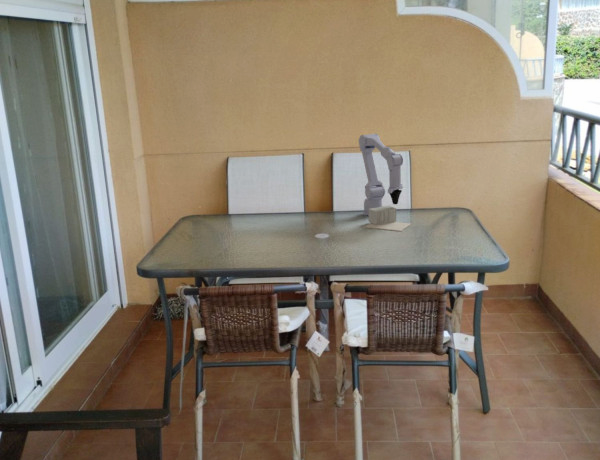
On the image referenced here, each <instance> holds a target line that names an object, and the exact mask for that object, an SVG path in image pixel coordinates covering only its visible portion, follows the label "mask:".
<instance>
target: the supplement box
mask: <svg viewBox="0 0 600 460" xmlns="http://www.w3.org/2000/svg"><path fill="white" fill-rule="evenodd" d="M391 222H397V208H396V207H394V206H391V205H385V206H382V207H377V208H371V209H369V215H368V223H369V224H370V223H372V224H375V225H379V224H385V223H391Z"/></svg>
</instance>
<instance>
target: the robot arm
mask: <svg viewBox="0 0 600 460" xmlns="http://www.w3.org/2000/svg"><path fill="white" fill-rule="evenodd" d="M358 146H359V150H360V151H361V154H362V159H363V163H364V167H365V169H364V170H365V173H366V178H367V183H366V185H364V194H365V195H364V196H365V197H366V198H365V199H364V200H363V201H364V202H363V216H369V209H371V208H377V207H383V198H384V197H385V195H386V189H385V186H384V185H383V182H381V181H380V180H378V176H377V170H376V166H375V161H374V157H373V151H374V150H375V149H377V150H378V151H379V152H380V156H381V157H383V159H385V161H386V164H387V167H388V170H389V175H388V176H389V178H388V179H389V181H388V182H389V185H388V189H387V193H388V194H389V195H390V199H391V202H392V205H398V204H399V199H400V196H401V193H402V189H403V188H404V186H403V183H402V182H401V181H402V179H401V177H402V176H401V175H402V174H401V172H402V170H401V169H402V168H401V166H402V165H403V163H404V159H403V156H402V155H401V154H399V153H396V152H395V151H394V150H393V149H392V148H391V147H390V146H386V145H384V143H383V141H381V138H380V135H379V134H377V133H375V132H374V133H371V134H360V136H359V138H358Z"/></svg>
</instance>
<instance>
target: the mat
mask: <svg viewBox="0 0 600 460" xmlns="http://www.w3.org/2000/svg"><path fill="white" fill-rule="evenodd" d="M410 226H412V223H411V222H410V223H408V222H399V221H396V222H391V223H385V224H379V225H375V224H372V223H370V222H369V224H367V225H365V226H364V228H365V229H374V230H375V229H376V230H383V231H384V230H385V231H395V232H403V231H404V230H406V229H408V228H409V227H410Z"/></svg>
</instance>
